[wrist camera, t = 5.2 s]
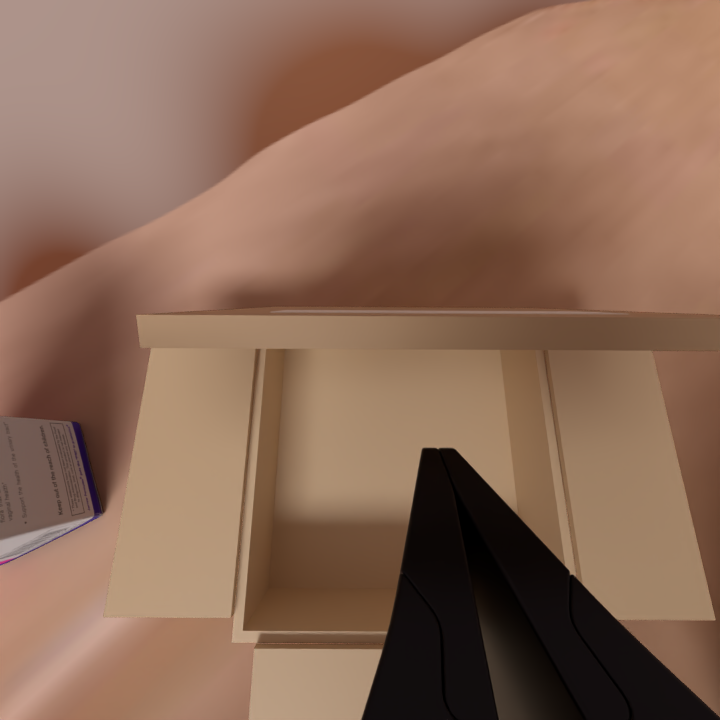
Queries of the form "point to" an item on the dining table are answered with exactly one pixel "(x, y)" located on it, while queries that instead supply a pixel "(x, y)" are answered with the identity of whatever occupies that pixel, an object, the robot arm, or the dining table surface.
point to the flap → (429, 329)
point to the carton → (385, 494)
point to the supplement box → (42, 484)
